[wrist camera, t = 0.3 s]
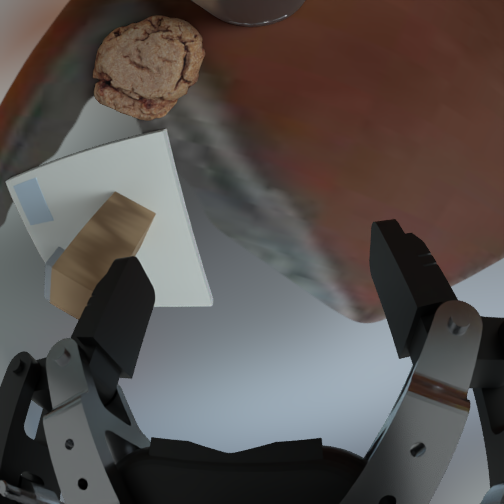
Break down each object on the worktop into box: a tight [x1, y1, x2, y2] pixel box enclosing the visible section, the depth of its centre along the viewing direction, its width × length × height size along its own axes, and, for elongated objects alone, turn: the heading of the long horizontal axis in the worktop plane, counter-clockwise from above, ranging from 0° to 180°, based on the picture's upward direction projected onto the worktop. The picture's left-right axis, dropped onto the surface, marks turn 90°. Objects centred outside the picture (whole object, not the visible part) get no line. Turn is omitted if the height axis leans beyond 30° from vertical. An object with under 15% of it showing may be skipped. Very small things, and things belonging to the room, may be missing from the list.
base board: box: [6, 129, 213, 307], centre depth 31 cm, size 22×24×4 cm
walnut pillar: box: [50, 191, 156, 320], centre depth 25 cm, size 5×5×12 cm
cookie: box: [93, 15, 205, 120], centre depth 20 cm, size 10×11×3 cm
